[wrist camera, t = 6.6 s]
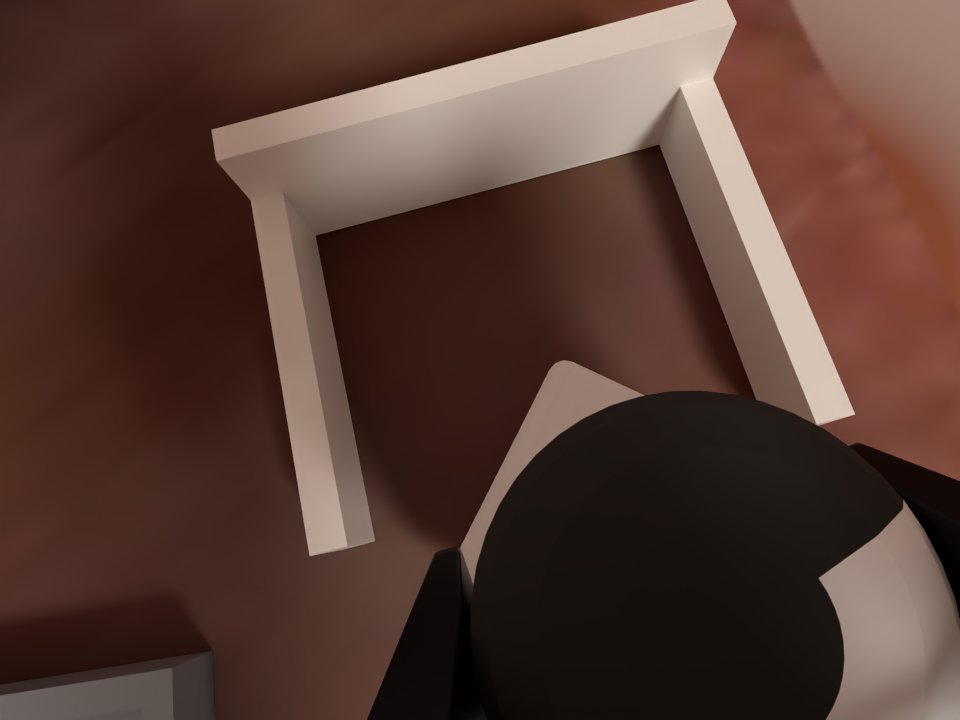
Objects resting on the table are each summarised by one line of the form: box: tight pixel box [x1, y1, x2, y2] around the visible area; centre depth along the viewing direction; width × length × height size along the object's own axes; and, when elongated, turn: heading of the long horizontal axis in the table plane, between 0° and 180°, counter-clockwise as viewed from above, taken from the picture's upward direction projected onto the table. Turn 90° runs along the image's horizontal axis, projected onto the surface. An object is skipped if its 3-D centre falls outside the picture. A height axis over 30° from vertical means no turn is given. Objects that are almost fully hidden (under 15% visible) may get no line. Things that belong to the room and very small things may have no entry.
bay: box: [212, 0, 855, 556], centre depth 21 cm, size 14×17×6 cm
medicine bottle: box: [460, 360, 960, 720], centre depth 13 cm, size 7×7×12 cm
